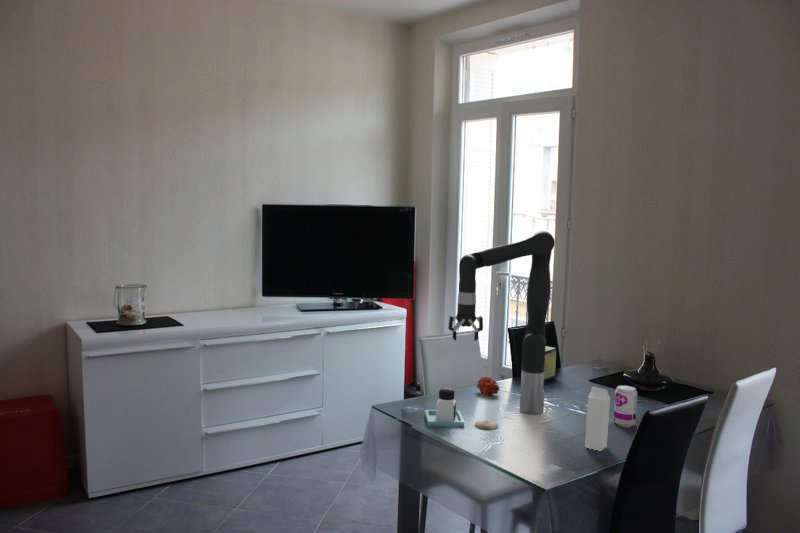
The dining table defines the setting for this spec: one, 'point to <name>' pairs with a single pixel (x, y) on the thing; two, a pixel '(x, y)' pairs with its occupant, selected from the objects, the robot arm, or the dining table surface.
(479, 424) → the cork coaster
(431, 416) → the tray
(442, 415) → the medicine bottle
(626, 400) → the supplement can
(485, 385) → the dragon fruit
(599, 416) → the milk
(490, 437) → the dining table surface
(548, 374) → the protein box
